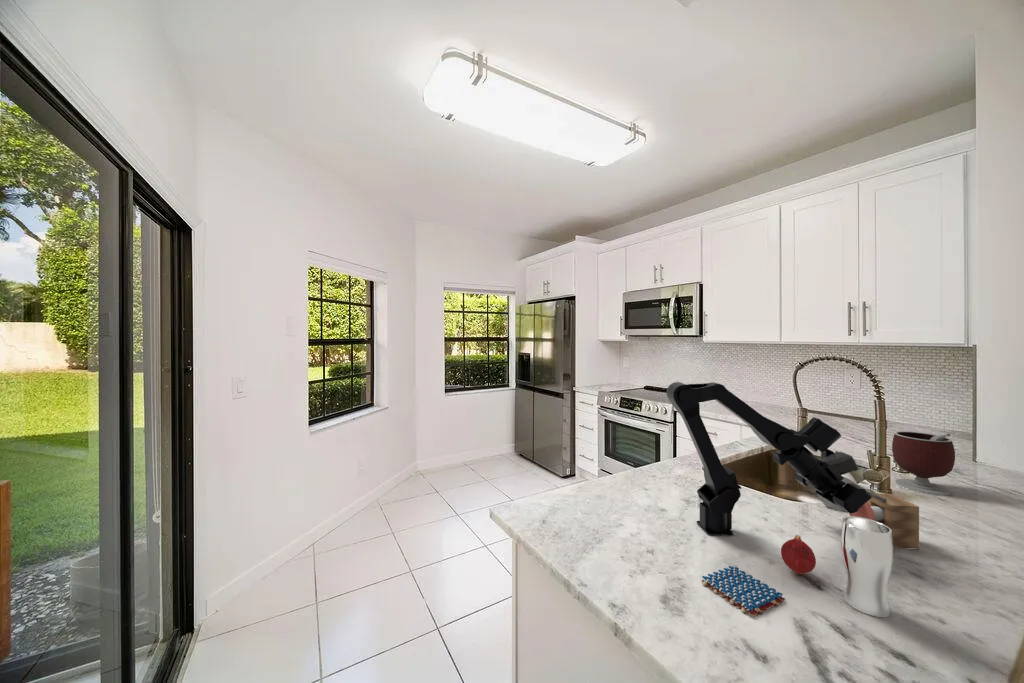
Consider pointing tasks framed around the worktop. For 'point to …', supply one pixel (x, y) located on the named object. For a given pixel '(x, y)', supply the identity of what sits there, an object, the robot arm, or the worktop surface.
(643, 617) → the worktop surface
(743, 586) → the woven mat
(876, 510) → the knob
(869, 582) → the beer glass
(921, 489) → the mate gourd
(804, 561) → the onion
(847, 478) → the toilet paper
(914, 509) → the catch block
